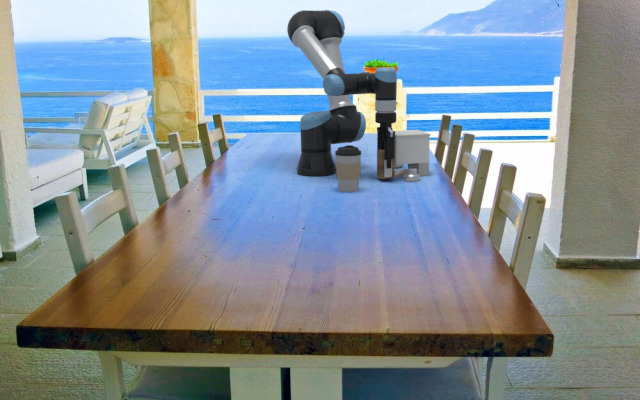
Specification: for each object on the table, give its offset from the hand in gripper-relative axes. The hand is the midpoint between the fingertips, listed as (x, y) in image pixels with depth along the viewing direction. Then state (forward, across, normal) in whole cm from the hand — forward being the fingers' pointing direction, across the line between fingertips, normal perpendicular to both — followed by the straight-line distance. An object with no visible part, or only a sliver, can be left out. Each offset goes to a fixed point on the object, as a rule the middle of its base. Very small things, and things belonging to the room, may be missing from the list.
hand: (385, 175), depth 251 cm
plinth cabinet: (+2, +9, -12) cm, 15 cm away
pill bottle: (+2, +24, -11) cm, 27 cm away
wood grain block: (+1, 0, -5) cm, 5 cm away
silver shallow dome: (+2, -3, -9) cm, 10 cm away
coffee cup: (+2, -12, +17) cm, 21 cm away
